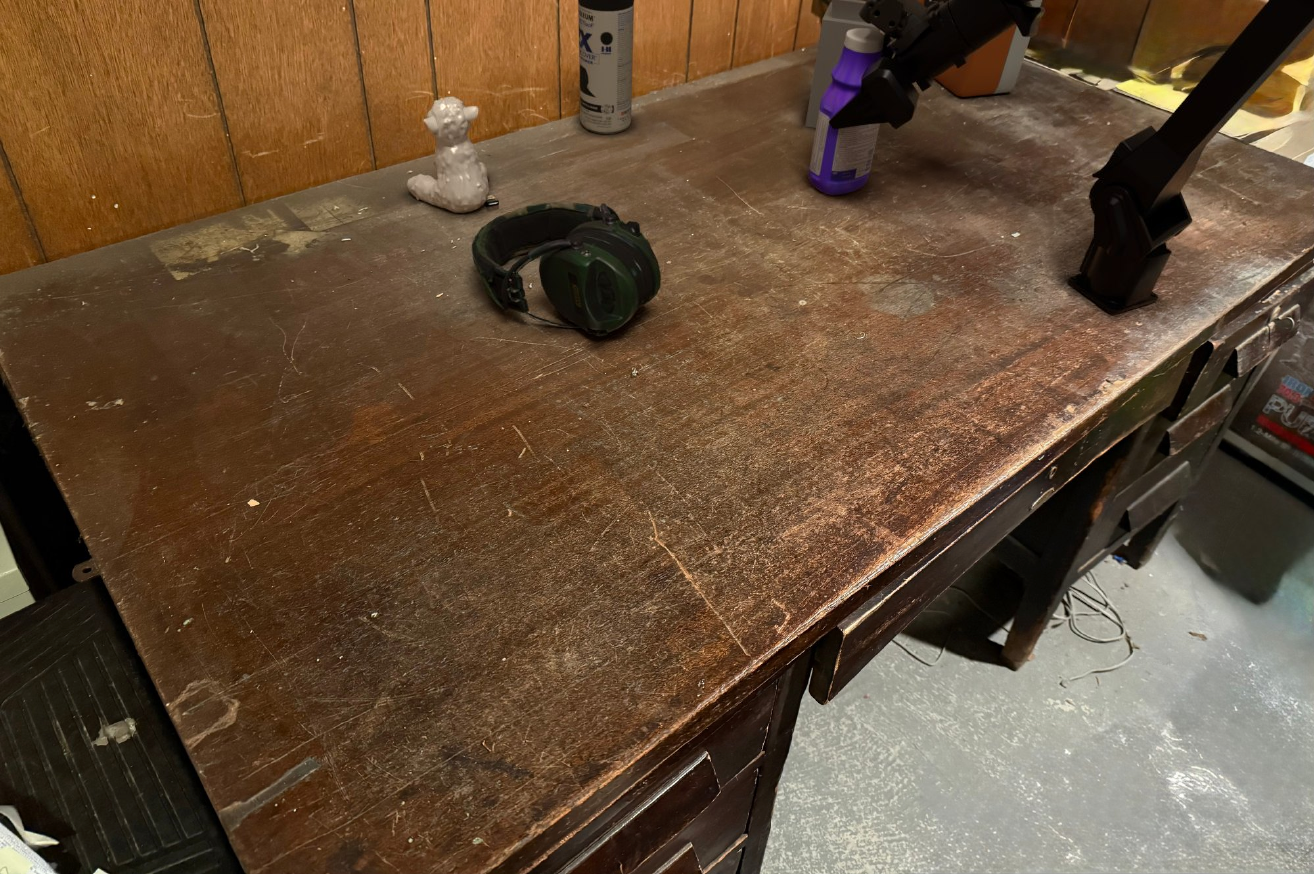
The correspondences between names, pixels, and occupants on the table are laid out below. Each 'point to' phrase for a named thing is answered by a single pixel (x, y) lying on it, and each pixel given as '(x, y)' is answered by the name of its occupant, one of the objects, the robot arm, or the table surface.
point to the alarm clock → (988, 64)
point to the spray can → (605, 64)
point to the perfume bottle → (832, 48)
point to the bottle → (848, 150)
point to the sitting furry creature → (452, 160)
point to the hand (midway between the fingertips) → (837, 112)
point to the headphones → (570, 263)
